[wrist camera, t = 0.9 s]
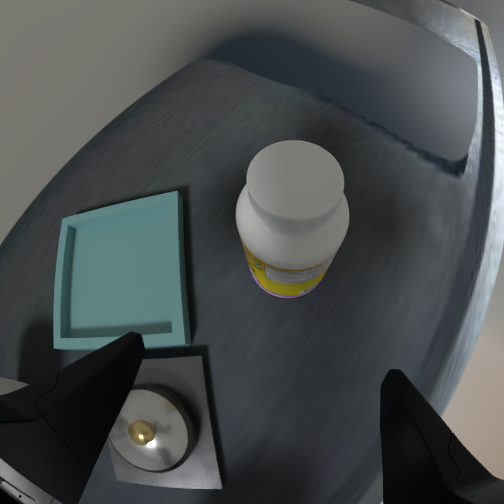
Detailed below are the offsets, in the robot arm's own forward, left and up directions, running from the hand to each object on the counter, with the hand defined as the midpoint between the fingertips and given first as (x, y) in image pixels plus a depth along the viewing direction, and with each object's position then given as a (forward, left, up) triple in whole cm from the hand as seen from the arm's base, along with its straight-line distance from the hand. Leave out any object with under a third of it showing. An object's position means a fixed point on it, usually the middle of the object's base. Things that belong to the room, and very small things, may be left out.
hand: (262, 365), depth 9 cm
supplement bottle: (+8, -3, -14) cm, 16 cm away
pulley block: (-5, +10, -14) cm, 18 cm away
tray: (+9, +13, -14) cm, 21 cm away
